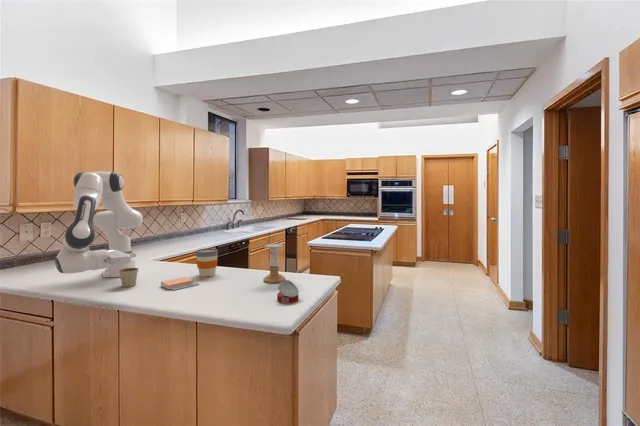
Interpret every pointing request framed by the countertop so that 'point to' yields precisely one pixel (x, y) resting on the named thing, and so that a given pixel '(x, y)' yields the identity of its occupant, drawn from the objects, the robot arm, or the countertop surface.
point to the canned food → (287, 292)
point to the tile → (176, 282)
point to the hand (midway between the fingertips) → (135, 254)
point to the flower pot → (128, 276)
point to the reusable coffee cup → (207, 261)
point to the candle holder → (274, 265)
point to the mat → (184, 286)
